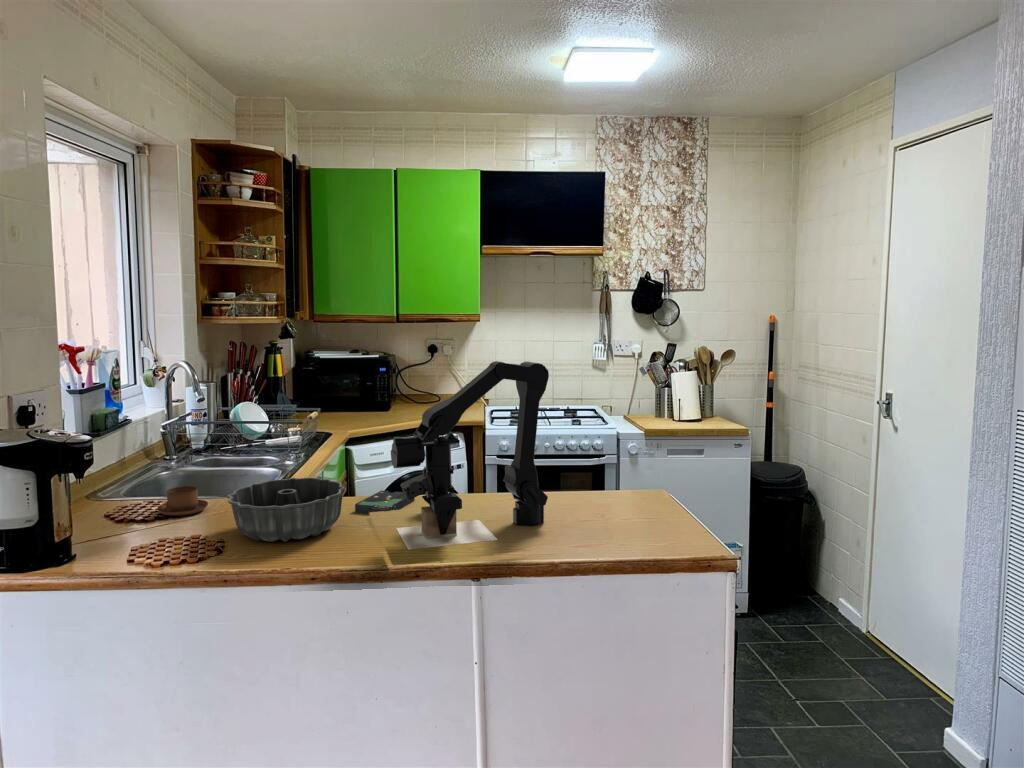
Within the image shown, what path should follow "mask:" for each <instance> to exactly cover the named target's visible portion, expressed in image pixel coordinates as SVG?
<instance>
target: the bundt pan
mask: <svg viewBox="0 0 1024 768" xmlns="http://www.w3.org/2000/svg"><path fill="white" fill-rule="evenodd" d="M345 490H346V487H345V486H343V485H342V483H341V482H339V481H335V480H331V479H330V478H319V477H299V478H298V477H291V478H284V479H280V478H278V479H272V480H265V481H262V482H259V483H252V484H251V483H250V484H249V485H247V486H242V487H239V488H237V489H235V490H233V492H232V493H230V494H227V499H228V500H227V501H228V503H229V505H231V510H232V513H233V518H234V521H235V525H236V527H237V530H238V531H239V532H240V533H241V534H243V535H244V536H246V537H248V538H250V539H251V540H253V541H256V542H257V541H258V542H261V541H264V542H268V543H270V542H271V543H272V542H276V541H279V540H281V541H282V542H284V543H287V542H288V541H289V540H291V539H293V540H304V539H306V538H307V537H317V536H319V535H320V534H321V533H323V532H326V531H327V530H329V529H331V528H332V527H333V525H334V524H335V523H336V522H337V521H338V519H339V518H340V516H341V511H342V504H343V503H342V502H343V495H344V491H345Z"/></svg>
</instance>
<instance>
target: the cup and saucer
mask: <svg viewBox="0 0 1024 768" xmlns="http://www.w3.org/2000/svg"><path fill="white" fill-rule="evenodd" d="M166 499H167V502H166V503H162V504H161V505H159V506H158V507H157V511H158V512H159V513H160V514H161V515H165V516H169V517H170V516H171V517H181V516H188V515H194V514H197V513H200V512H201V511H204V510H205V509H206V508H207V507H208V506H209V502H208V501H206V500H203V499H199V494H198V487H197V486H194V485H193V486H192V485H185V486H175V487H172V488H169V489H167V490H166Z"/></svg>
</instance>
